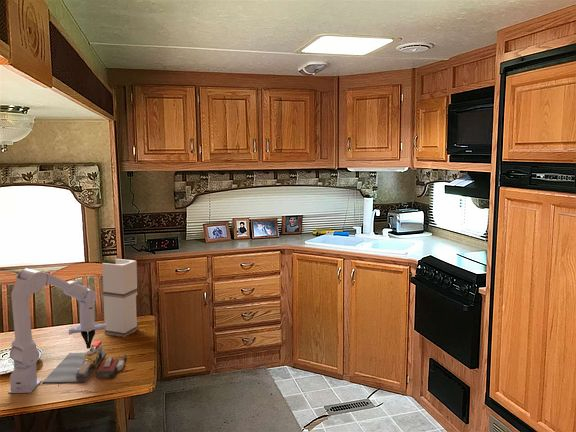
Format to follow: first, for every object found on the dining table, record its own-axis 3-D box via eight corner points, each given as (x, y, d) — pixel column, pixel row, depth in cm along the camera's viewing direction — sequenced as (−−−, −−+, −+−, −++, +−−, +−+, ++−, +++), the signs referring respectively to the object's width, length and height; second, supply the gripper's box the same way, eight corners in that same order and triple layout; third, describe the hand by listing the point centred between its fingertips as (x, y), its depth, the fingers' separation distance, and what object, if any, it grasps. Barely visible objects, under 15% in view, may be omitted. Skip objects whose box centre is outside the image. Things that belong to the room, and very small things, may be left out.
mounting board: (84, 382, 182) (84, 381, 182) (42, 383, 181) (42, 381, 181) (105, 354, 208) (105, 352, 208) (69, 354, 207) (69, 353, 207)
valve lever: (92, 355, 193) (92, 352, 193) (85, 355, 193) (85, 352, 192) (101, 343, 205) (101, 340, 205) (95, 343, 205) (95, 340, 205)
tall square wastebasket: (138, 329, 237) (136, 260, 232) (124, 337, 227) (122, 265, 222) (118, 326, 240) (116, 258, 235) (104, 334, 230) (102, 263, 225)
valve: (86, 378, 184) (86, 366, 183) (74, 379, 184) (74, 366, 183) (104, 354, 206) (104, 343, 205) (94, 354, 205) (94, 343, 205)
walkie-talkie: (118, 379, 186) (127, 357, 206) (118, 368, 186) (127, 347, 205) (95, 380, 185) (106, 358, 204) (94, 369, 184) (106, 348, 204)
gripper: (68, 322, 192) (70, 354, 194) (107, 317, 198) (108, 348, 200) (67, 316, 198) (69, 347, 200) (104, 311, 205) (105, 342, 206)
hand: (88, 347), depth 200 cm, fingers closed
